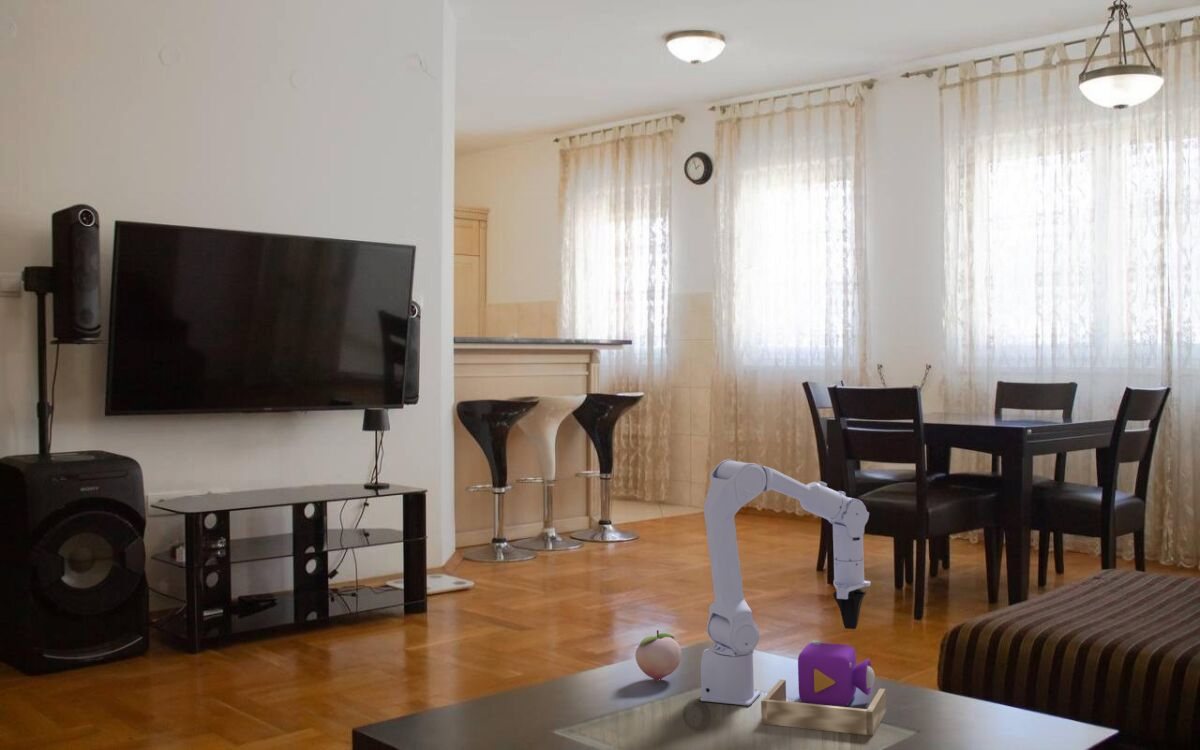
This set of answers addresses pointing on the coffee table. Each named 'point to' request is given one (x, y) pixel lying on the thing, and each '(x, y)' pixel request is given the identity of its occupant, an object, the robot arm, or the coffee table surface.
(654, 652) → the decorative fruit
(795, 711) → the wooden tray
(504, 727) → the coffee table surface
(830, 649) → the toy camera
